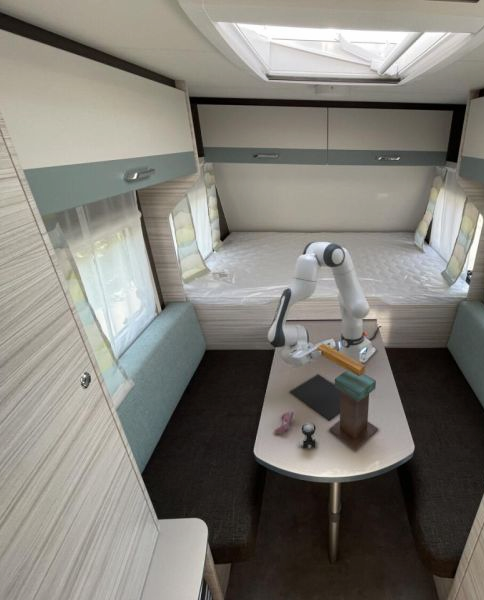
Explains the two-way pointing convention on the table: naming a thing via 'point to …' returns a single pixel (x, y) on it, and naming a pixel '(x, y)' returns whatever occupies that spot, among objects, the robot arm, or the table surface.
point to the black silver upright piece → (308, 435)
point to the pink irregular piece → (284, 422)
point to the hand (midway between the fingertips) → (325, 350)
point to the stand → (354, 409)
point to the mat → (320, 396)
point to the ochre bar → (342, 360)
